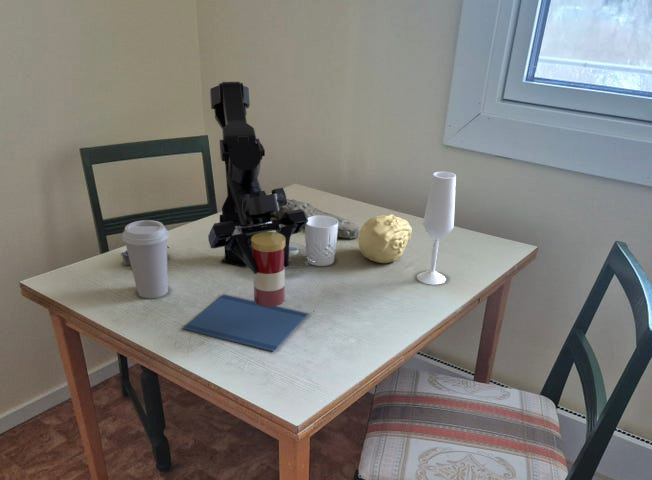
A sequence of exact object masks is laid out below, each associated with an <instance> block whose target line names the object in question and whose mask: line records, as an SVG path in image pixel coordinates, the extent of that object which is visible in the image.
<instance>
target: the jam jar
mask: <svg viewBox="0 0 652 480" xmlns="http://www.w3.org/2000/svg"><path fill="white" fill-rule="evenodd" d="M285 245H286V238H285V236H284V235H282V234H280V233H276V231H268V232H261V233H257V234H255V235H253V236H252V237H251V246H252V252H253V258H254V261H255V263H256V267H257V273H256V274H254V273H253V272H252V284H253V301H255V303H256V304H258V305H260V306H264V307H274V306H277V307H279V306H280V305H282V304H284V303H285V300H286V290H285V287H286V286H285V285H286V268H285Z"/></svg>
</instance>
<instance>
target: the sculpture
mask: <svg viewBox="0 0 652 480" xmlns="http://www.w3.org/2000/svg"><path fill="white" fill-rule="evenodd" d="M360 229H361V230H360V232H359V236H358V237H357V243H358V248H359V251H360V253H361V254H362V256H363V257H365V258H366V259H368V260H370V261H371V262H375V263H379V264H389V263H393V262H395V261H397V260H399V259H400V258H401V257H402V256H403V253H404V251H405V249H406V247H407V245H408V244H409V243H410V241H411V238H412V232H413V228H412V226H411V225H410V223H409V221H408V220H407V219H405V218H401V217H399V216H396V215H394V214H392V213H390V214H388V215H387V214H386V215H383V214H382V215H375V216H373V217H371V218H369V219H368V220H366V221H365V222H364V223H363V224H362V226H361V227H360Z"/></svg>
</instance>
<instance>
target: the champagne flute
mask: <svg viewBox="0 0 652 480" xmlns="http://www.w3.org/2000/svg"><path fill="white" fill-rule="evenodd" d="M456 184H457V175H456V174H455V173H454V172H451V171H435V172H433V173H432V178H431V183H430V188H429V191H428V198H427V202H426V208H425V212H424V216H423V220H422V226H423V229H424V231H425V232H426V233H427V234H428V235H429V237H431V239H433V243H432V249H431V257H430V258H431V259H430V265H429V270H426V271H423V272H420V273H418V274H417V276H416V279H417V280H418V281H419V282H420V283H423V284H426V285H432V286H433V285H435V286H436V285H441V284H444V283H446V281H447V278H446V276H445V275H443V274H442V273H440V272H438V271H436V265H437V258H438V250H439V243H440V239H441V240H442V239H443V238H444V237H446V236H447V235H449V234H450V233H451V231H452V230H453V229H454V226H455V209H456V207H455V206H456V186H457V185H456Z"/></svg>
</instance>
